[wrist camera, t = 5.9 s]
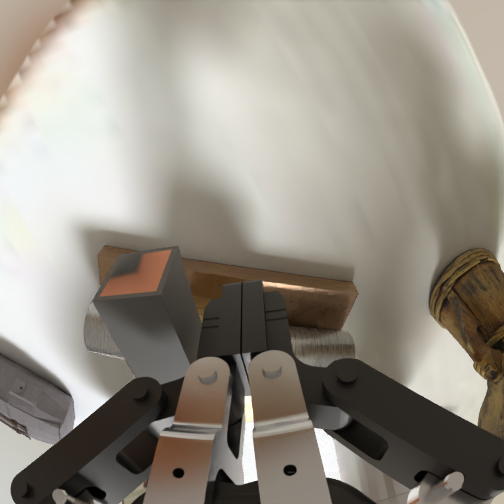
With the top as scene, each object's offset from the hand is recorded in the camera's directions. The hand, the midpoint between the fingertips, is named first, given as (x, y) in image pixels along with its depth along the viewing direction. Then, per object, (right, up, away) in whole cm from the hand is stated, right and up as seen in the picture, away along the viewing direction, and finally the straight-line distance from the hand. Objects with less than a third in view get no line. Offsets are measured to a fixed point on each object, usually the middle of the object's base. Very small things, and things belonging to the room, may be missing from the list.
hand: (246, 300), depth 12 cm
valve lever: (-3, -4, +3) cm, 5 cm away
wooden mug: (+20, -1, +13) cm, 24 cm away
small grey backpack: (-35, -18, +22) cm, 45 cm away
